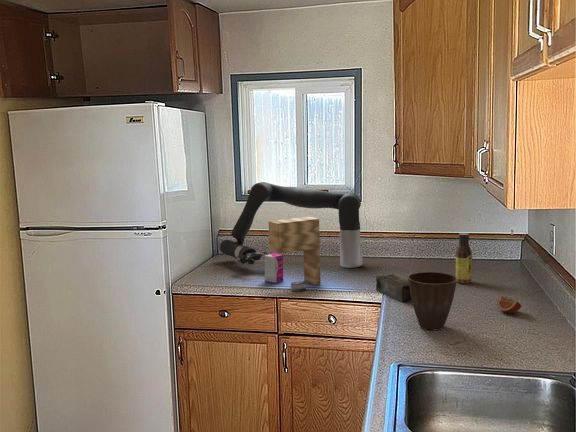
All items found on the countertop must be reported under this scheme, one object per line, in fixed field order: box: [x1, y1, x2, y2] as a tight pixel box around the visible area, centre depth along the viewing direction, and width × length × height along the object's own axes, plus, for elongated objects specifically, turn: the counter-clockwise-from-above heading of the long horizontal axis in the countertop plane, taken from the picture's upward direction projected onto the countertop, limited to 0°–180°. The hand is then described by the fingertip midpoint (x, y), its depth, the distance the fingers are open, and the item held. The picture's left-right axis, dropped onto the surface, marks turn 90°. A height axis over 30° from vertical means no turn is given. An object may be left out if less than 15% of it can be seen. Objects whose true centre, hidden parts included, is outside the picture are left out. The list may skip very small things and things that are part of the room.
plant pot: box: [407, 271, 457, 331], centre depth 187 cm, size 15×15×16 cm
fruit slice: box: [496, 295, 522, 314], centre depth 199 cm, size 8×7×5 cm
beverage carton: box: [375, 273, 412, 303], centre depth 223 cm, size 8×19×7 cm, turn 22°
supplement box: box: [264, 252, 284, 285], centre depth 247 cm, size 6×6×12 cm
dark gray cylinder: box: [290, 280, 307, 294], centre depth 233 cm, size 6×6×3 cm
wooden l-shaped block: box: [267, 216, 321, 285], centre depth 239 cm, size 19×8×27 cm, turn 120°
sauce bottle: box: [455, 232, 473, 285], centre depth 237 cm, size 6×6×20 cm
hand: (262, 260), depth 256 cm, fingers open, 8 cm apart
